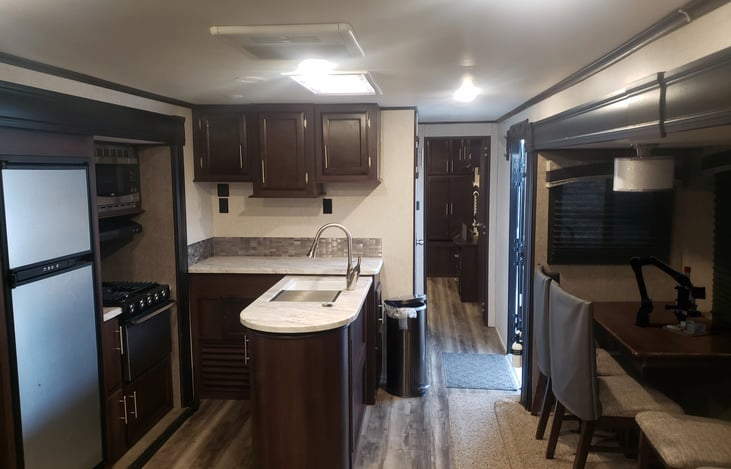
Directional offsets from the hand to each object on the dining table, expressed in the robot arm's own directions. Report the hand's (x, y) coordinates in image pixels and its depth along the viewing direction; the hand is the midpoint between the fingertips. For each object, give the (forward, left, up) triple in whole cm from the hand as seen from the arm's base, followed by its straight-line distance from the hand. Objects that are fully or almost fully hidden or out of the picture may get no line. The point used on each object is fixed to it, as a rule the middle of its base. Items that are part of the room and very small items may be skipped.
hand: (681, 325), depth 291 cm
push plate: (-2, -4, -1) cm, 4 cm away
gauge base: (-1, -3, -2) cm, 4 cm away
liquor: (+29, +24, -3) cm, 38 cm away
